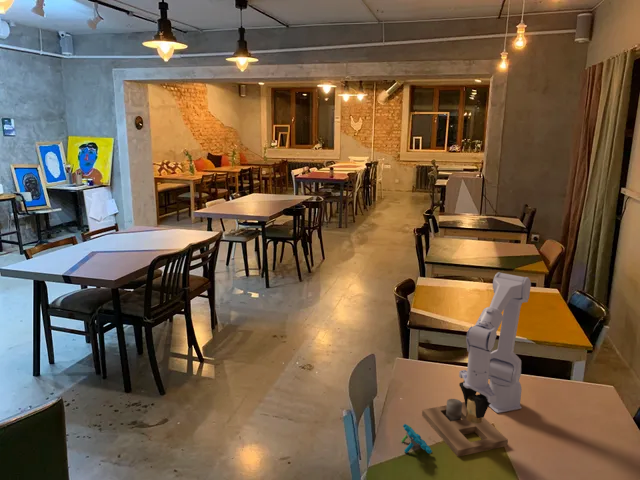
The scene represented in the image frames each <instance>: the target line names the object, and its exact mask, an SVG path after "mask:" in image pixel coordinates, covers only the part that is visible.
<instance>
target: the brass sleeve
mask: <svg viewBox="0 0 640 480" xmlns="http://www.w3.org/2000/svg"><path fill="white" fill-rule="evenodd" d="M466 419H467V420H468V421H469V422H471V423H475V424H478V423H481V422H482V421H483V417H482V418H477V417H476V405H475V401H474V398H473V396H469V397H468V401H467V411H466Z"/></svg>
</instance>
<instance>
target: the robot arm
mask: <svg viewBox="0 0 640 480" xmlns="http://www.w3.org/2000/svg"><path fill="white" fill-rule="evenodd" d="M531 288H532V282H531V279H530V277H528V276H525V277H524V276H520V275H515V274H510V273H504V272H500V271H498V272H496V274H495V275H494V277H493V280H492V289H493V296H492V299H491V301H490V305H489V306H487V307H485V308H483V310H482V311H481V313H480V315H479V317H478V318H477V321H476V323H475V324H474V325H473V326H472V325H471V326H470V327H469V328H468V330H467V332H466V337H465V342H466V350H467V351H466V352H468V357H467V370H466V369H462V370H459V371H458V372H459V374H458V376H459V378H460V379H463V381H461V382H459V385H458V386H459V387H460V390H461V392H462V395H463V401H464V402H465V405H466V408H467V401H468V397H469V396H473V398H474V401H475V405H476V417H477V418H482V417H484V418H485V414H486V412H487V410H488V408H491V409H492V410H493V412H495V413H496V414H500V413H505V412H506V413H507V412H510V411H515V410H519V409H520V410H521V409H522V406H521V400H522V399H521V398H522V384H521V382H520V378H521V374H522V360H521V358H520V357H519V356H518V355H517V354H516V353H515V352H514V351H515V350H514V349H515V343H516V338H517V332H518V326H519V325H518V324H519V320H520V313H521V308H522V304H523V303H528V302H529V299H530V292H531ZM502 312H503V313H502ZM500 325H501V326H500ZM499 327H500V332H499V336H498V335H497V334H498V333H497V332H498V329H499ZM497 336H498V337H499V338H498V345H497V349H495V350H493V348H494V346H495V342H496V339H497ZM477 393H479V394H477Z"/></svg>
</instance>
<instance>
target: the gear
mask: <svg viewBox="0 0 640 480" xmlns="http://www.w3.org/2000/svg"><path fill="white" fill-rule="evenodd" d="M402 427H403V429H404V431H405V435H404V436H403V438H402V439H401V442H402V443H404V442H405V441H406V440H407V439H409V441H410V443H409V444H408V445H407V447H405V449H404V450H403V451H404V452H405V453H406V454H407V453H408V452H410V450H411V449H412V448H413V447H414V446H416V445H419V446H420V448H421V449H422V450H423V451H425V452H426V453H427V454H432V452H433V450H432V449H431V447H430V446H429V445H428V444H427V442H426V441H425V440H424V439H422V437H421V435H420V434H418V433H417V432H416V431H415V430H414V429H413V428H412V427H411V425H408V424H406V423H404V424H403V425H402Z"/></svg>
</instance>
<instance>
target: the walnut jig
mask: <svg viewBox="0 0 640 480" xmlns="http://www.w3.org/2000/svg"><path fill="white" fill-rule="evenodd" d="M421 411H422V412H421V415H422V417H423V418H424V420H425V421H426V422H427V423H428V424H429V425H430V427H432V428H433V430H434V431H435V432H436V433H437V435H438V436H439V437H440V438H441V439H442V440H443V441H444V443H445V444H446V445H447V447H449V448H450V450H451V451H452V452H453V453H454V454H455V455H456V456H457V457H458V458H459V457H462V456H463V457H464V456H466V455H472V454H477V453H481V452H485V451H490V450H494V449H495V450H496V449H499V448H504V447H508V441H509V440H508V438H507V437H506V436H505V435H504V434H502V433H501V431H499V430H498V429H497V427H495V426H494V425H493V424H492V423H490V422H489V420H488V419H487V418H485V416H484V417H483V421H482V422H481V423H478V424H475V423H471V422H469V421H468V420H467V419H466V411H467V408H466V405H465V401H463V402H462V401H461V400H460V399H456V398H449V399H447V401H446V405H440V406H436V407H429V408H424V409H422V410H421ZM473 433H475V434H476V435H477V436H478V437H479V438H480V439H481V440H480V439H479V440H474V441H469V439H467V437H465V435H468V434H473Z"/></svg>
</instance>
